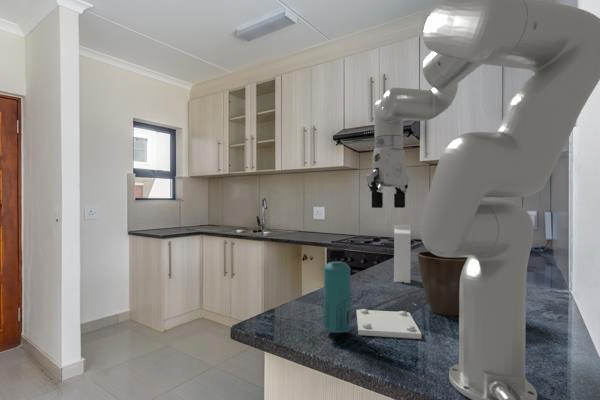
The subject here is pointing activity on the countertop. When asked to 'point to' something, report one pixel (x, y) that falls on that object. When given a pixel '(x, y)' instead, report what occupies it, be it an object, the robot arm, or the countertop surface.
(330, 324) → the beverage bottle
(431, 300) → the plant pot
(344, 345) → the countertop surface
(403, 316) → the base plate
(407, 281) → the milk
